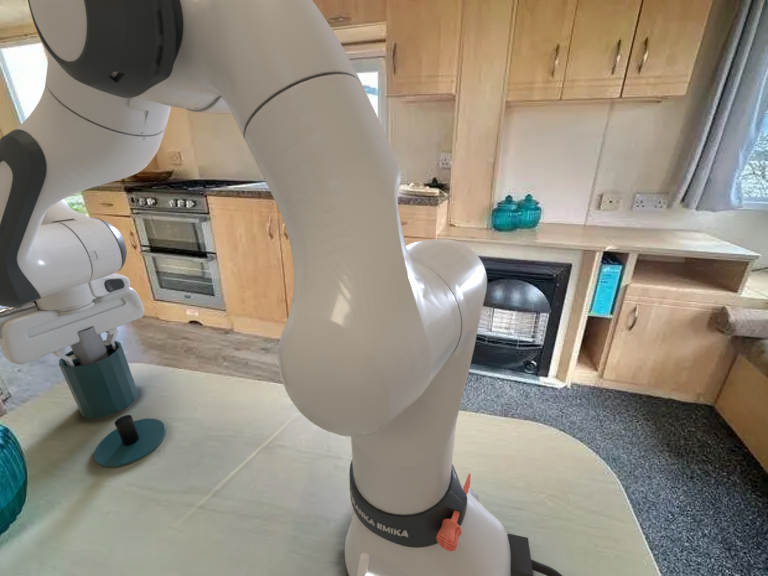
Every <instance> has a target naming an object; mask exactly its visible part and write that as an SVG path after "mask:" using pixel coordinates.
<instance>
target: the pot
mask: <svg viewBox="0 0 768 576" xmlns="http://www.w3.org/2000/svg"><path fill="white" fill-rule="evenodd" d="M105 341H106V339H105V340H104V339H103V342H105ZM114 343H115V346H116V349H115V350H113V351H111V352H109V353H108V355H109V357H107V358H105V359H102V360H100V361H98V362H95V363H91V364H88V365H84V366H76V367H70V366H67V364H66V362H65V360H64V359H62V358H59V361H58V366H59V368H60V371H61V372H62V375H63V377H64V379H65V381H66V384H67V386H68V389H69V391H70V393H71V395H72V398H73V400H74V402H75V404H76V406H77V408H78V410H79V413H80V415H81V416H83V417H84V418H85V419H100V418H105V417H109V416H111V415H115V414H117V413H119V412H120V411H122V410H124V409H126V408H128V407H129V406H130V405H131V404H132V403H134V401H136V399H137V397H138V396H139V392H138V388H137V385H136V383H135V382H136V381H135V379H134V377H133V374H132V370H131V368H130V365H129V363H128V359H127V357H126V354H125V351H124V348H123V345H122V343H121V342H119V340H118V341H117V340H115V342H114ZM64 355H66V356H68V357H69V356H71V355H74V353H73V351H72V350H70V351H67V352H66V353H64Z"/></svg>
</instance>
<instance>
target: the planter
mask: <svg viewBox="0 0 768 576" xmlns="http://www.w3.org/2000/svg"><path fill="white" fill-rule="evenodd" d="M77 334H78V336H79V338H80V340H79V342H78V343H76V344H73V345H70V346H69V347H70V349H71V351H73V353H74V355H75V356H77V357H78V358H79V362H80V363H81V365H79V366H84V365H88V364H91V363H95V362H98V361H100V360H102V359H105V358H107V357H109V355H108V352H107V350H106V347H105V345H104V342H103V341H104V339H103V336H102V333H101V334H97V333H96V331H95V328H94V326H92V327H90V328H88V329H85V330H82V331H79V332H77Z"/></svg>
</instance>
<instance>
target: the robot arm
mask: <svg viewBox="0 0 768 576" xmlns="http://www.w3.org/2000/svg"><path fill="white" fill-rule="evenodd" d="M27 3H28V4H27V5H28V8H29V12H30V15H31V19H32V21H33V24H34V27H35V30H36V32H37V34H38V37H39V38H40V40H41V43H42V44H43V46H44V48H45V49H46V50H47V52H48V53H49V55H48V59H47V67H46V75H45V83H44V88H43V92H42V94H41V97H40V99H39V101H38V103H36V105H35V107H34V109H33V110H32V111H31V113H30V114H29V116H28V117H27V118H26V119H25V120H24V121H23V122H22V123H21V124H20V125H19V126H18V127H16V128H15V129H13V130H11V131H10V132H7V134H5V135H3V136H2V137H0V307H4V308H1V309H0V349H1V351H2V354H3V356H4V357H5V359H7V361H9V362H10V363H13V364H15V365H24V364H27V363H29V362H32V361H35V360H37V359H40V358H43V357H45V356H47V355H50V354H53V355H55V356H56V357H58V358H59V359H61V358H62V359H64V360H65V362H66V364H67V366H70V367H76V366H79V365H81V363H80V362H79V358H78V357H77V356H75V355H71V356H69V357H68V356H66V355H65V354H67V353H68V351H67V348H68V347H71V346H70V345H73V344H76V343H78V342H79V340H80V338H79V336H78V334H77V332H79V331H82V330H85V329H88V328H90V327H92V326H94V328H95V331H96V333H97V334H101V335H102V334H104V333H106V338H105V340H106V341H105V342H104V345H105V347H106V350H107V352H108V353H109V352H111V351H113V350H115V349H116V346H115V343H114V342H115V341H117V337H118V333H119V331H118V328H119V327H122V326H124V325H126V324H129V323H132V322H134V321H137V320H139V319H142V318H143V316H144V314H145V307H144V304H143V302H142V299H141V297H140V295H139V294H138V292H137V291H136V290H135V289H134V288H133V287H131V281H130V277H128V276H125V275H123V274H120V273H117V272H119V271H121V270H122V269H123V267H124V265H125V263H126V260H127V255H128V249H127V245H126V242H125V239H124V237H123V235H122V233H121V232H120V230H119V229H118V228H117V227H115V226H113V224H111V223H110V222H108V221H105V220H103V219H101V218H97V217H89V216H87V215H85V214H82V213H80V212H78V211H76V210H75V209H73V208H71V207H70V206H69V204H68V203H67V200H66V199H67V198H69V197H71V196H74V195H76V194H78V193H81V192H84V191H87V190H90V189H92V188H96V187H98V186H99V187H100V186H102V185H103V186H104V185H106V184H110V183H113V182H116V181H120V180H123V179H127V178H131V177H132V176H135V175H136V174H138V173H140V172H142V171H143V170H145V168H146V167H148V165H149V164H150V163H151V162H152V160H153V159H154V158H155V156H156V155H157V153H158V152H159V149H160V148H161V145H162V141H163V138H164V134H165V131H166V127H167V125H168V121H169V117H170V113H171V110H172V107H174V108H180V109H185V110H187V111H190V112H194V113H202V114H213V115H214V114H215V115H219V114H220V115H232V116H233V119H234V121H235V123H236V124H237V127H238V129H239V131H240V133H241V135H242V137H243V139H244V141H245V143H246V145H247V148H248V149H249V150H250V153H251V155H252V157H253V158H254V161H255V163H256V164H257V166H258V169H259V171H260V173H261V175H262V177H263V179H264V181H265V183H266V186H267V187H268V189H269V191H270V194H271V196H272V198H273V200H274V202H275V204H276V207H277V209H278V211H279V213H280V216H281V218H282V220H283V223H284V227H285V229H286V232H287V236H288V241H289V246H290V251H291V257H292V258H291V259H292V271H293V288H292V289H293V290H292V291H293V292H292V297H291V298H292V299H291V304H290V308H289V313H288V316H287V319H286V320H285V321H286V322H285V324H284V327H283V329H282V332H281V335H280V337H279V340H278V341H279V342H278V349H277V351H278V352H277V362H278V370H279V375H280V379H281V382H282V385H283V388H284V390H285V392H286V394H287V396H288V398H289V400H290V401H291V402H292V405H294V407H295V408H296V409H297V410H298V411H299V412H300V414H301V415H302V416H303V417H304V418H305V419H306V420H308V421H309V422H311V423H312V424H314V425H315V426H317V427H319V428H320V429H322V430H324V431H327V432H329V433H332V434H335V435H338V436H343V437H349V438H350V445H351V446H350V447H351V461H350V464H349V497H350V502H351V506H352V517H351V521H350V525H349V527H348V530H347V532H346V536H345V542H344V561H345V567H346V571H347V574H348V576H534V572H536V573H539V574H542V575H545V576H563V575H562V574H561V573H560V572H559V571H557V570H556V569H555V568H553V567H551V566H549V565H547V564H544V563H542V562H539V561H537V560H533V559H532V557H531V550H530V549H531V548H530V542H529V537H526V536H522V535H517V534H512V533H508V532H507V531H506V529H505V527H504V525H503V524H502V523H501V521H500V520H499V519H498V518H496V517H495V515H493V514H492V513H491V512H490V511H489V510H488V509H487V508H486V507H484V505H482V504H481V503H480V496H479V495H478V494H477V492H476V491H475V490H474V489H472V488H471V473H468V475H467V477H466V480H465V482H464V485H463V486H462V484H461V481H460V478H459V477H458V476H459V475H458V473H457V471H456V468H455V466H454V464H453V457H454V449H455V441H456V440H455V438H456V431H457V430H456V429H457V423H458V418H459V412H460V409H461V406H462V401H463V398H464V393H465V389H466V385H467V382H468V377H469V373H470V368H471V364H472V360H473V354H474V350H475V345H476V341H477V336H478V330H479V326H480V325H479V323H480V320H481V315H482V310H483V308H484V302H485V299H486V295H487V289H488V276H487V272H486V268H485V265H484V263H483V260H482V259H481V258H480V256H479V255H478V254H477V253H476V252H475V251H474V250H473V249H472V248H470V247H469V246H468V245H467V244H464V243H462V242H461V241H458V240H456V239H455V240H454V239H451V238H450V239H449V238H434V239H425V240H418V241H415V242H412V243H410V244H408V245H407V244H406V241H405V236H404V232H403V227H402V223H401V216H400V210H399V190H400V186H401V183H402V168H401V164H400V161H399V158H398V157H397V155H396V153H395V151H394V148H393V146H392V144H391V142H390V141H389V138H388V136H387V134H386V131H385V130H384V128H383V125H382V123H381V121H380V119H379V117H378V114H377V113H376V110H375V109H374V107H373V105H372V102H371V100H370V98H369V96H368V93H367V92H366V89H365V87H364V85H363V83H362V81H361V79H360V77H359V75H358V73H357V70H356V69H355V68H354V65H353V63H352V61H351V60H350V58H349V56H348V54H347V52H346V50H345V48H344V47H343V45H342V43H341V42H340V40H339V39H338V36H337V35H336V33H335V32H334V30H333V28H332V27H331V25H330V24H329V22H328V21H327V19H326V18H325V17H324V15H323V13H322V12H321V10H320V8H319V7H318V6H317V4H316V3H315V2H314V1H313V0H27Z"/></svg>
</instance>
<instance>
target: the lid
mask: <svg viewBox="0 0 768 576" xmlns="http://www.w3.org/2000/svg"><path fill="white" fill-rule="evenodd" d="M114 426H115V428H116V429H114V430H113V431H111V432H110V433H109V434H107V435H106V436H104V438H103V439H101V440H100V442H99V443H98V445H97V446H96V448H95V451H94V453H93V457H94V460H95V462H96V464H97V465H99V466H100V467H103V468H110V469H112V468H121V467H124V466H127V465H130V464H133V463H135V462H138V461H139V460H141V459H143V458H145V457H146V456H149V454H151V453H152V452H154V450H156V449H157V448H158V447H159V446H160V445H161V443H162V442H163V441H164V439H165V437H166V434H167V427H166V425H165V424H164V422H162V420H159V419H157V418H141V419H136V420H134V418H133V416H132V415H131V414H125V415H121V416H120V417H118V418H117V419H116V420H115V421H114Z"/></svg>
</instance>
